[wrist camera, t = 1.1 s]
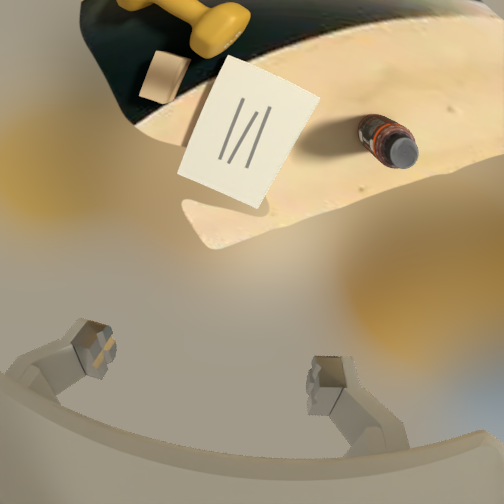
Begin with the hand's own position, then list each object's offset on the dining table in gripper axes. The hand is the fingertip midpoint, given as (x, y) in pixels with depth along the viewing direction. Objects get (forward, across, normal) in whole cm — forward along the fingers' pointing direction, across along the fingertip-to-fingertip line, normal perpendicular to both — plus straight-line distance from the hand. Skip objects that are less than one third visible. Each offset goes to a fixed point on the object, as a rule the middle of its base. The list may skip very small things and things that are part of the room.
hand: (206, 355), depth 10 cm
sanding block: (+34, +14, -16) cm, 40 cm away
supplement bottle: (+35, -17, -10) cm, 40 cm away
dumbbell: (+32, +12, -27) cm, 43 cm away
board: (+35, +3, -7) cm, 36 cm away
